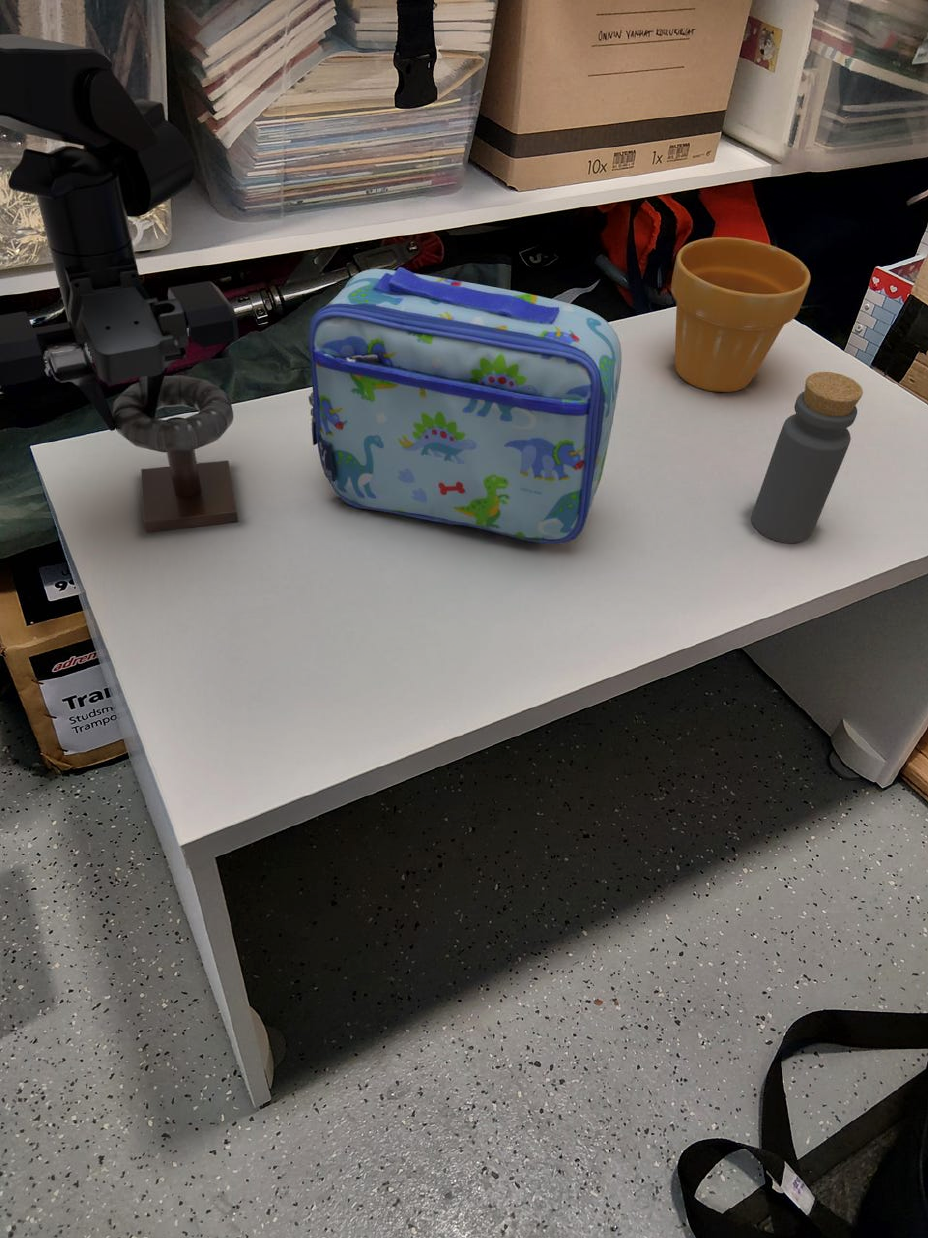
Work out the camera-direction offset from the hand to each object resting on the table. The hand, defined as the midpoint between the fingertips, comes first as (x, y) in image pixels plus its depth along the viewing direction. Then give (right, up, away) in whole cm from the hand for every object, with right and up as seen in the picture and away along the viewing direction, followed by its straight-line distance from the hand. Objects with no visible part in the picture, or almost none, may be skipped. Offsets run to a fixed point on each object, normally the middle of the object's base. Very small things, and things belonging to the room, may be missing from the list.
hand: (131, 424), depth 79 cm
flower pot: (+57, +12, +30) cm, 66 cm away
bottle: (+58, -7, +11) cm, 60 cm away
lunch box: (+27, -6, +10) cm, 29 cm away
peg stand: (+3, -5, +8) cm, 10 cm away
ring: (+3, +1, +1) cm, 4 cm away
